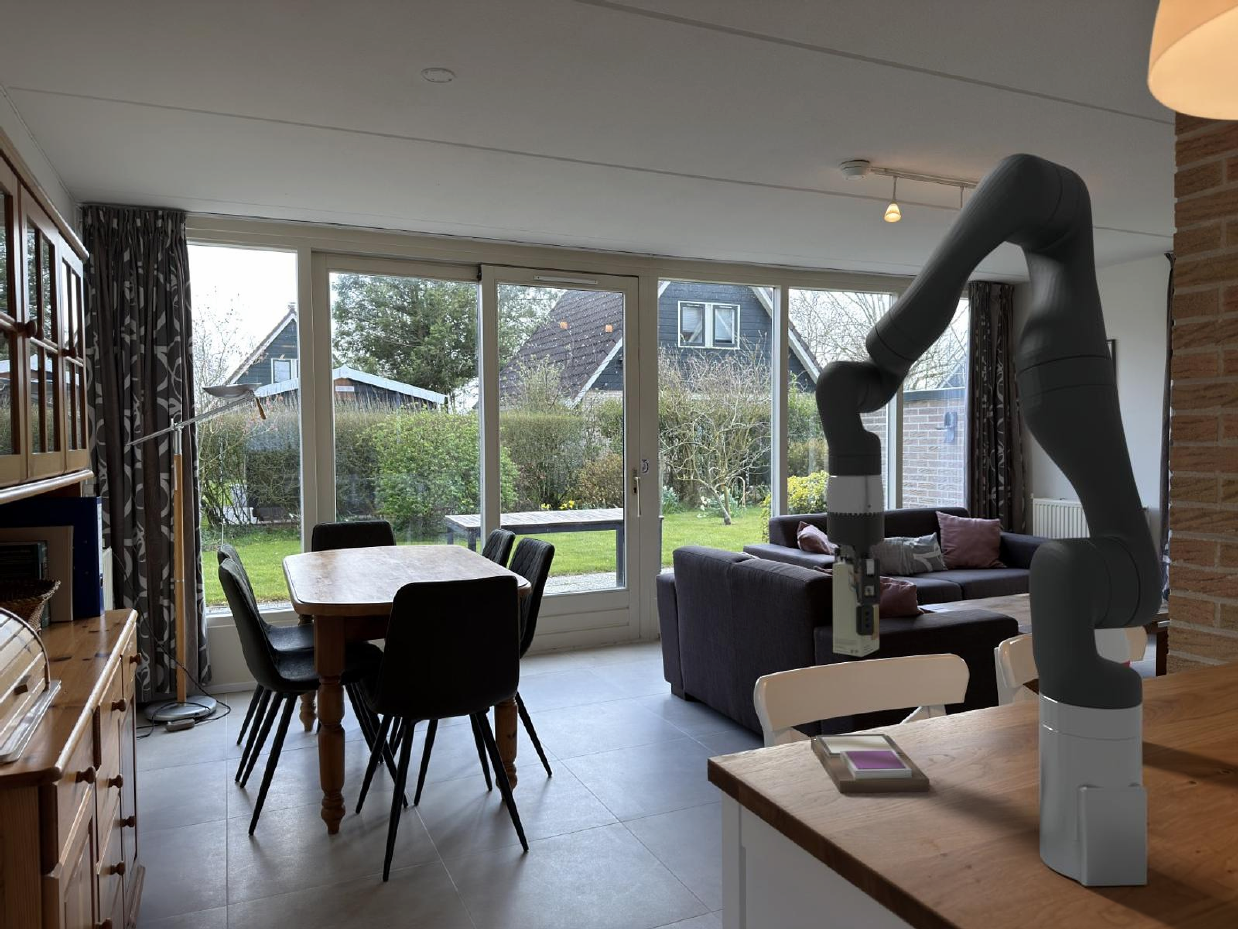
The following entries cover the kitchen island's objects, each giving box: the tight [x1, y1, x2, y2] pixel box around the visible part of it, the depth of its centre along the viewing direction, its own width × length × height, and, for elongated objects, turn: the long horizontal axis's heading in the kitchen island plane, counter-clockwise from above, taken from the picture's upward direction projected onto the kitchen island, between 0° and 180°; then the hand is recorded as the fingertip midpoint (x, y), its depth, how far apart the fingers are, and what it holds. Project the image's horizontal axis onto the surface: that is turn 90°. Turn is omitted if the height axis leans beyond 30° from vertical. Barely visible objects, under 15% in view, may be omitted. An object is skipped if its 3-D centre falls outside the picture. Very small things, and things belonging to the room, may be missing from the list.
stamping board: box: [810, 733, 930, 794], centre depth 115 cm, size 16×11×3 cm
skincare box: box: [832, 562, 880, 658], centre depth 119 cm, size 6×4×12 cm
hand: (856, 628), depth 119 cm, fingers closed on skincare box, 7 cm apart
